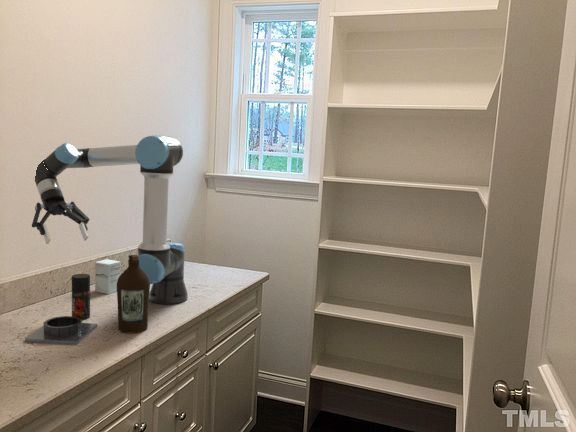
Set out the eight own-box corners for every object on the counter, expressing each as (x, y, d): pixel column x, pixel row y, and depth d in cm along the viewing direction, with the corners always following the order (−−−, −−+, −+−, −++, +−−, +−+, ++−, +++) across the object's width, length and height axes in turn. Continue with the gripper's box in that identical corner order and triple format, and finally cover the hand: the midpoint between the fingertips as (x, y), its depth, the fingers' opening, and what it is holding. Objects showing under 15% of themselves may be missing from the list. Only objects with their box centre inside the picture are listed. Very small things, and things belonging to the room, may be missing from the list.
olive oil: (118, 323, 175) (118, 252, 171) (150, 322, 177) (151, 252, 174) (114, 334, 164) (115, 259, 161) (148, 333, 167) (149, 259, 164)
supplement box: (94, 291, 210) (94, 262, 208) (106, 287, 216) (107, 258, 215) (108, 294, 207) (108, 264, 205) (120, 290, 214) (121, 260, 212)
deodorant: (93, 316, 181) (93, 275, 179) (81, 321, 175) (81, 278, 173) (80, 313, 183) (80, 273, 181) (68, 318, 177) (67, 276, 175)
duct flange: (97, 326, 171) (97, 315, 170) (76, 344, 155) (76, 332, 154) (50, 323, 171) (50, 312, 171) (24, 341, 155) (24, 329, 155)
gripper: (80, 199, 202) (97, 242, 194) (12, 201, 184) (28, 249, 176) (86, 187, 198) (104, 231, 190) (17, 187, 179) (34, 236, 171)
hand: (68, 240), depth 183 cm, fingers open, 13 cm apart
